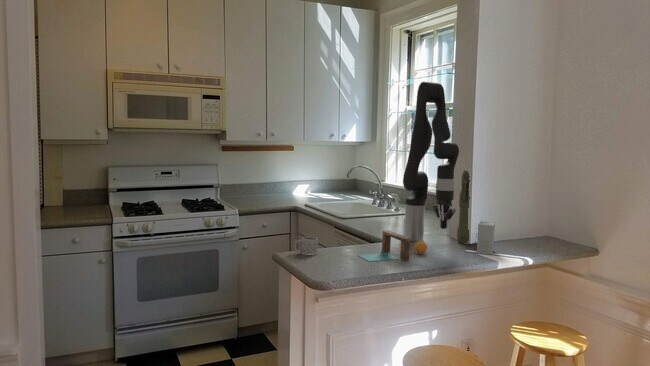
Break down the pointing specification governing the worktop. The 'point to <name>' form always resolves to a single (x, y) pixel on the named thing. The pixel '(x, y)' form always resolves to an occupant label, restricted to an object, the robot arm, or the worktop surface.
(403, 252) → the bridge
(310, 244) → the mug
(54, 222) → the worktop surface
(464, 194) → the olive green statue
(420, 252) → the ball
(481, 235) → the small box
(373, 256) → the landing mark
